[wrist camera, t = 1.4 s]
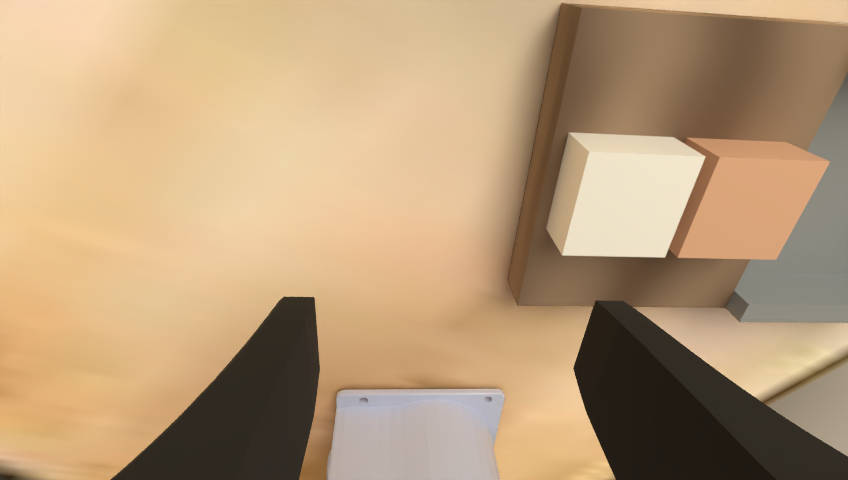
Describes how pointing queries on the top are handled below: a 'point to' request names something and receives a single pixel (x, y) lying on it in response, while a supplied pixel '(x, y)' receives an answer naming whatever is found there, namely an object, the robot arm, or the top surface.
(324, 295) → the top surface
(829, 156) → the tray
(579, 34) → the walnut board
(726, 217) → the terracotta tile
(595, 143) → the ivory tile
